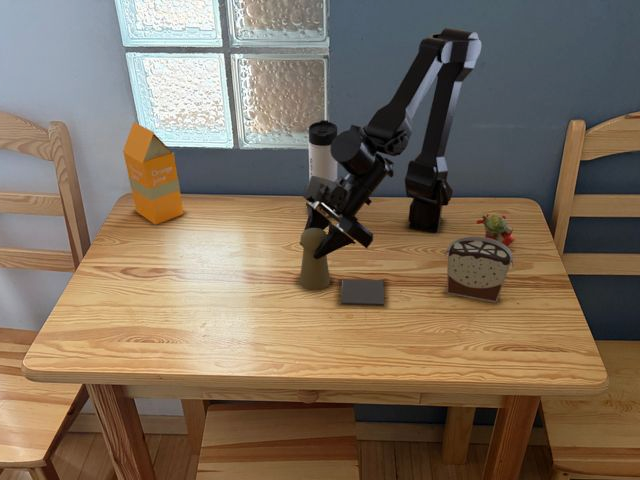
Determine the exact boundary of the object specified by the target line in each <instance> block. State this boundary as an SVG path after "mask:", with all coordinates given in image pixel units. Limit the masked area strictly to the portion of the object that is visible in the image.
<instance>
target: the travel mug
mask: <svg viewBox="0 0 640 480" xmlns="http://www.w3.org/2000/svg"><path fill="white" fill-rule="evenodd" d="M337 136H338V126H337V125H336V123H333V122H329V120H328V119H320V120H319V121H316V122H314V123H312V124H310V125H309V126H308V166H309V167H308V172H309V173H308V175H309V181H310V178H311V176H316V177H320V178H324V179H327V180H330V181H333V182H334V181H335V180H336V179H337V178H338V162H337V161H336V160H335V159H334V158H333V157H332V155H331V151H330V149H331V144H332V141H333V140H334V139H335V138H336V137H337ZM309 181H308V182H309ZM333 211H334V212H335V209H334V210H333ZM328 217H331V216H330V215H329V214H328V216H327V217H326V218H328Z"/></svg>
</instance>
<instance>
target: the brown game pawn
mask: <svg viewBox="0 0 640 480" xmlns="http://www.w3.org/2000/svg"><path fill="white" fill-rule="evenodd" d="M327 234H328V232H326V231H325V229H324V230H322V229H320V228H309V229H306V230H305V231H304V230H303V231H302V232H301V235H300V237H299V240H300V241H299V243H300V242H301V245H302V246H301V245H300V246H301V247H302V248H303V251H302V258H301V266H300V275H299V285H300V286H301V287H302V288H304V289H306V290H309V291H319V290H323V289H326V288H328V287H329V285H330V284H331V278H330V277H331V276H330V271H329V269H330V268H329V264H328V257H327V256H328V255H325V256H323V257H321V258H319V259H315V258H314V257H313V255H314V253H315V252H316V250H317V248H318V247H319V245H320V244H321V242H322V241H323V240H324V238H325V237H326V235H327Z"/></svg>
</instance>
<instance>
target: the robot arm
mask: <svg viewBox="0 0 640 480" xmlns="http://www.w3.org/2000/svg"><path fill="white" fill-rule="evenodd" d="M481 51H482V40H481V39H480V38H479V34H478V33H477V32H476V31H471V30H465V29H459V28H453V27H445V28H444V29H442V31H441V32H439V33H432V34H430V35H429V37H424V38H423V39H422V40H421V41H420V43H419V46H418V52H417V54H416V56H415V57H414V59H413V61H412V63H411V64H410V66H409V68H408V69H407V71H406V73H405V75H404V76H403V79H402V80H401V82H400V84H399V86H398V87H397V89H396V91H395V93H394V95H393V96H392V98H391V99H390V101H389V102H388V103H387V104H386V105H384V106H383V107H382V106H381V108H379V109H377V110H376V112H375V113H374V114H373V116H372V117H371V118H370V120H369V121H368V123H367V124H365V125H364V126H363V127H362V126H359V125H356V124H351V125H350V127H349V128H348V130H345V131H342V132H341V133H339V134H337V137H336V138H335V139H334V140H333V141H332V144H331V149H330V151H331V155H332V157H333V158H334V159H335V160H336V161H337V164H339V165H340V167H341V168H343V169H344V170H345V172H347V174H346V175H345V177H343V176H342V175H339V176H337V179H336V180H335V181H334V182H333V181H330V180H327V179H324V178H320V177H316V176H311V178H310V181H308V183H307V185H305V186H304V187H303V188H302V190H301V191H300V192H299V196H301V197H303V198H304V199H305V200H306V201H307V202H305V206H306V207H307V220H306V224H305V227H304V228H303V229H304V230H303V232H304V231H305V230H306V229H309V228H320V229H322V230H324V231H325V230H326V229H327V228H328V232H327V235H326V237H325V238H324V240H323V241H322V242H321V244H320V245H319V247H318V248H317V250H316V252H315V253H314V255H313V257H314V258H315V259H319V258H321V257H323V256H325V255H326V256H328V255H330V254H331V253H333V252H336V251H338V250H340V249H342V248H344V247H346V246H349V245H356V243H359V245H361V246H362V247H364V248H365V249H368V248H369V246H371V244H372V243H373V242H374V233H373V232H372V231H370V230H369V229H368V228H367V227H365V226H364V225H363V224H362V223H361V222H359V221H358V220H359V219H358V218H357V217H356V215H357V214H358V213H359V212H360V210H361V209H362V207H363V206H364V205H367V206H370V205H371V204H372V202H373V201H372V200H371V199H370V197H371V196H372V195H373V193H374V192H375V191H376V189H377V188H378V187H379V185H380V184H381V183H382V182H383V180H384V179H385V178H386V176H387V177H389V178H393V177H394V173H395V171H394V163H395V162H393V161H392V160H390V159H389V158H388V157H383V156H382V155H381V154H384V155H388V156H390V157H397V156H400V155H401V154H403V152H404V151H405V150H406V149H407V146H408V145H409V141H410V138H411V136H412V133H413V119H414V116H415V114H416V112H417V111H418V109H419V107H420V105H422V103H423V100H424V98H425V97H426V95H427V93H428V91H429V90H430V88H431V86H432V84H433V83H434V81H435V79H436V83H435V87H434V91H433V96H432V100H431V104H430V105H431V106H430V109H429V115H428V119H427V123H426V127H425V132H424V136H423V141H422V144H421V148H420V149H421V150H420V153H418V155H417V156H415V158H414V159H413V160H410V161H409V162H408V164H407V171H406V175H405V177H404V187H405V194H406V197H407V198H411V199H412V201H411V202H410V204H409V211H408V223H409V224H408V228H409V229H414V230H418V231H419V230H420V231H426V232H432V233H437V232H438V231H439V230H440V226H441V223H442V221H443V217H442V215H443V207H444V206H445V207H446V206H449V203H450V202H451V199H452V196H453V192H454V191H453V189H452V187H451V186H450V185H449V183H448V182H447V181H448V175H449V169H448V165H447V162H446V157H445V153H446V150H447V145H448V141H449V137H450V134H451V130H452V125H453V120H454V116H455V112H456V108H457V104H458V100H459V96H460V93H461V89H462V88H461V87H462V84H463V82H464V80H465V79H466V78H467V77H468V76H469V75H470V74H471V73H472V71H473V70H474V69H475V66H476V63H477V59H478V58H479V57H480V54H481ZM379 153H380V154H379ZM334 209H335V212H334V211H333V210H334ZM328 214H329V215H330V216H328ZM327 216H328V217H331V218H332V219H333V220H335V222H337V225H335V224H333V223H332V221H331V220H330V219H329V218H328V217H327ZM299 245H300V246H301V247H302V245H301V242H300V241H299Z"/></svg>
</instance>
